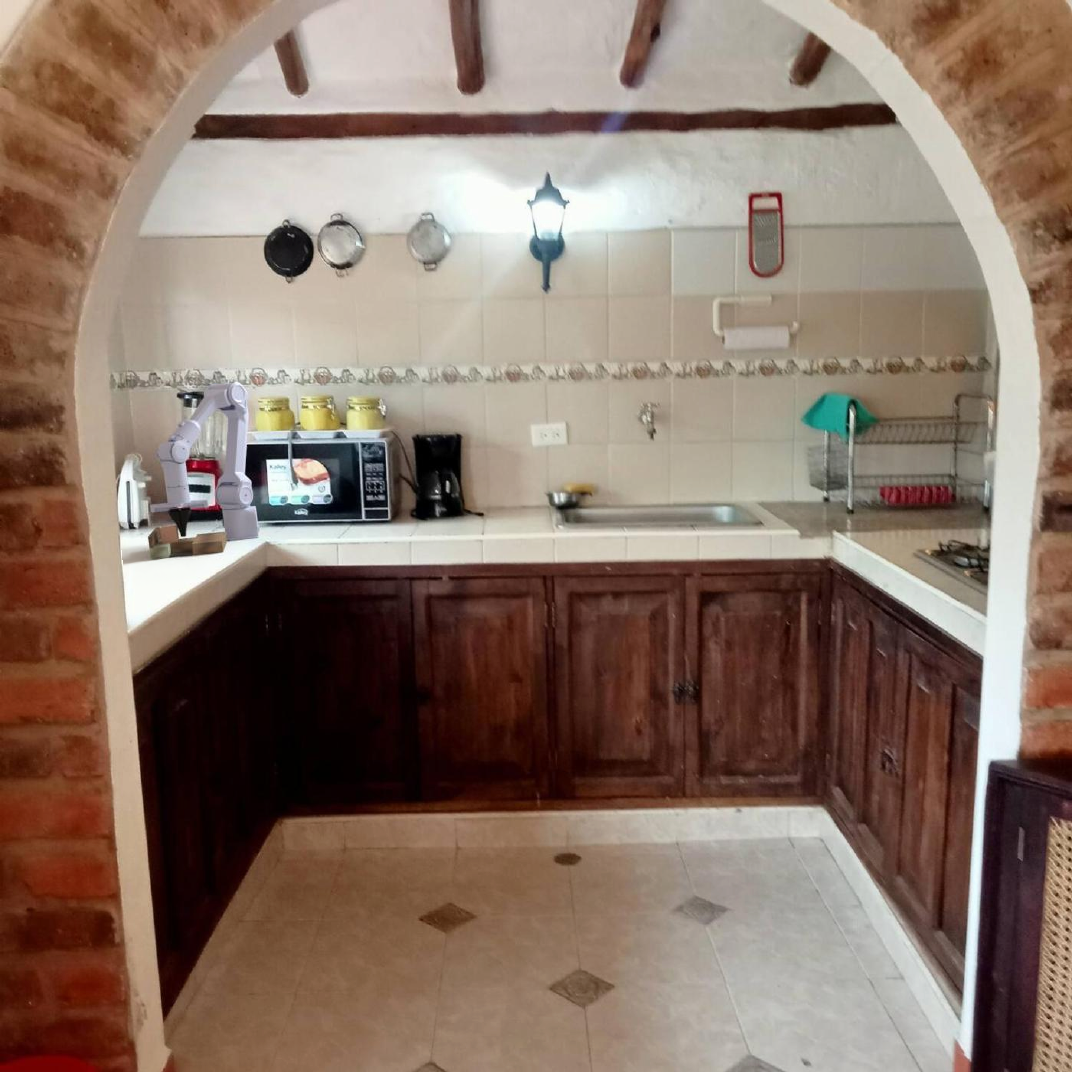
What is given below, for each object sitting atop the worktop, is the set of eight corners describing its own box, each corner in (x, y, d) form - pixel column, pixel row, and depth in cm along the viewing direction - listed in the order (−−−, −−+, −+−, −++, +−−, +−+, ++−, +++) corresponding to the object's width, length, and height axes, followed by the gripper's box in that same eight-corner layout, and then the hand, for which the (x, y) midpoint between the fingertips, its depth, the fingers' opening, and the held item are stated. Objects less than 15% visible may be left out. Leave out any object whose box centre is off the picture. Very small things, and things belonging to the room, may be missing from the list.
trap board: (226, 541, 264) (224, 520, 263) (223, 552, 249) (220, 529, 248) (158, 548, 260) (155, 527, 259) (150, 559, 245) (147, 536, 244)
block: (179, 539, 255) (177, 524, 255) (177, 541, 252) (175, 527, 251) (163, 540, 254) (161, 526, 254) (162, 543, 251) (159, 528, 250)
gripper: (146, 490, 246) (153, 541, 248) (204, 485, 249) (210, 535, 252) (149, 487, 252) (156, 537, 255) (206, 482, 256) (212, 531, 258)
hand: (183, 536), depth 254 cm, fingers closed
